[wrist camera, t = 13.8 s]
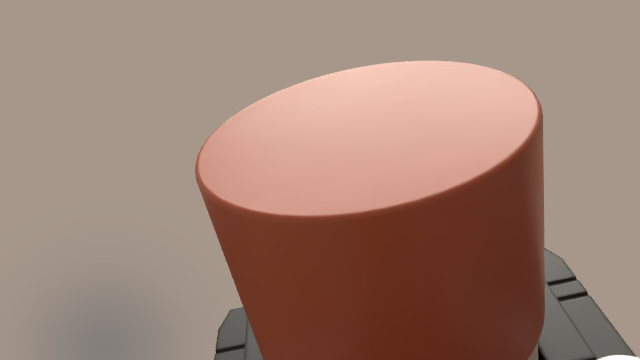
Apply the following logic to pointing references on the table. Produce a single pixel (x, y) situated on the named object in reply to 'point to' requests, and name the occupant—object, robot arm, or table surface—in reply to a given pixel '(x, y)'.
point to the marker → (385, 214)
